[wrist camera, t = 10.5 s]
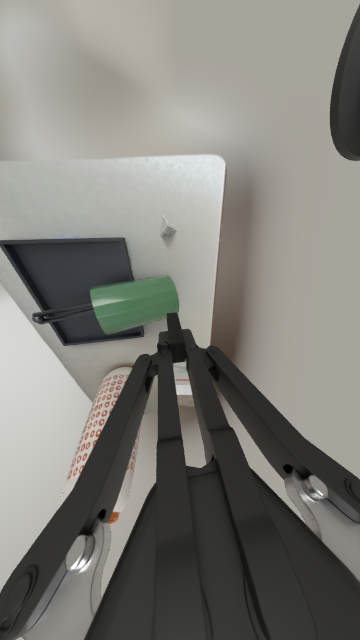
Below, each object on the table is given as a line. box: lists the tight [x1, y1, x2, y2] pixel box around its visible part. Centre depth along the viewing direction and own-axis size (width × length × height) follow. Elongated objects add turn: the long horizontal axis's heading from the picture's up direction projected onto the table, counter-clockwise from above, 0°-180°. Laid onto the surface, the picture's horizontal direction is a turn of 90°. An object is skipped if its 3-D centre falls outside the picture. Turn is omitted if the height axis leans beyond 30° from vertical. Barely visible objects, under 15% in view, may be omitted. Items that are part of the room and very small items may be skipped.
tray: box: [0, 238, 144, 346], centre depth 29 cm, size 23×20×2 cm
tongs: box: [32, 302, 95, 324], centre depth 27 cm, size 2×11×21 cm
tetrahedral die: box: [161, 215, 177, 236], centre depth 25 cm, size 4×3×3 cm
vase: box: [58, 366, 141, 524], centre depth 33 cm, size 13×13×28 cm
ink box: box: [173, 360, 192, 395], centre depth 39 cm, size 9×5×12 cm, turn 75°
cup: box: [90, 276, 179, 335], centre depth 26 cm, size 9×9×14 cm
